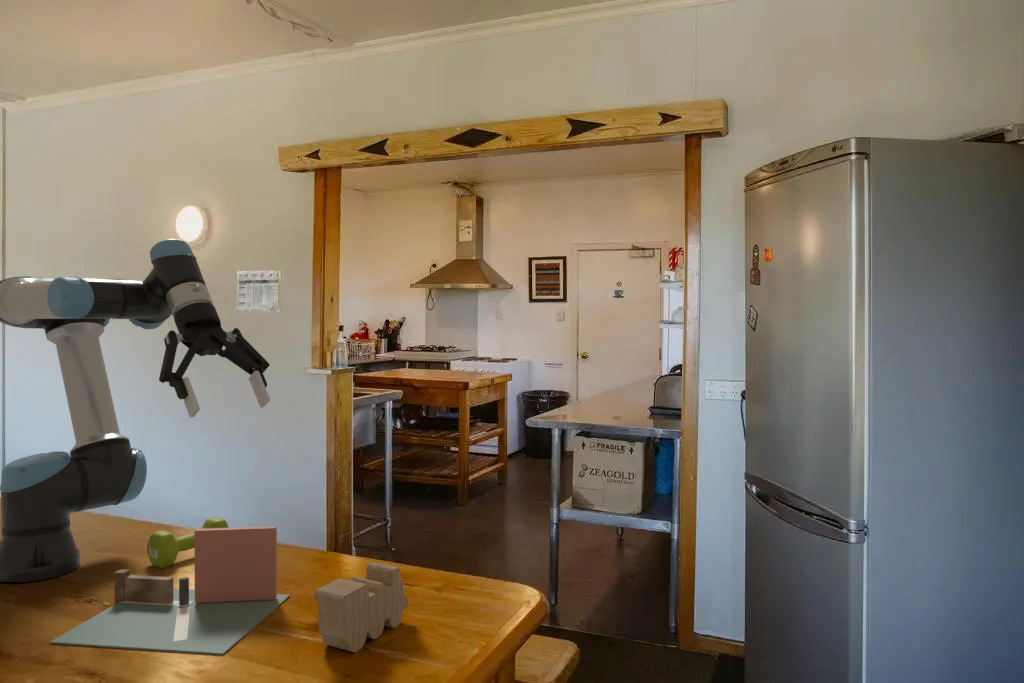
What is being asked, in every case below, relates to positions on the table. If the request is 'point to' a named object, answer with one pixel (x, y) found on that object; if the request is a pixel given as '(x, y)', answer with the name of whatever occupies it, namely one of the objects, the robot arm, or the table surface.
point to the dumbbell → (175, 543)
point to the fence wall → (148, 588)
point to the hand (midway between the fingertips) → (231, 408)
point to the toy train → (360, 606)
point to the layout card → (172, 625)
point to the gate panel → (235, 564)
